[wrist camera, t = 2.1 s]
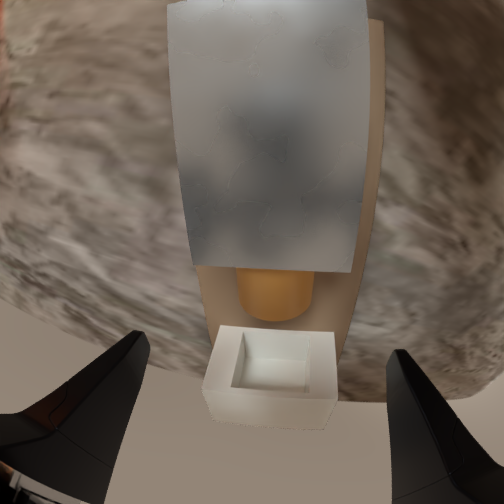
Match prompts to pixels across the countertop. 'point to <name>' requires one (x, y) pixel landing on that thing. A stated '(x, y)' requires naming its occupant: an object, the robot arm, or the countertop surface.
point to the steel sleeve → (271, 129)
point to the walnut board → (325, 283)
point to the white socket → (272, 378)
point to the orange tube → (274, 292)
